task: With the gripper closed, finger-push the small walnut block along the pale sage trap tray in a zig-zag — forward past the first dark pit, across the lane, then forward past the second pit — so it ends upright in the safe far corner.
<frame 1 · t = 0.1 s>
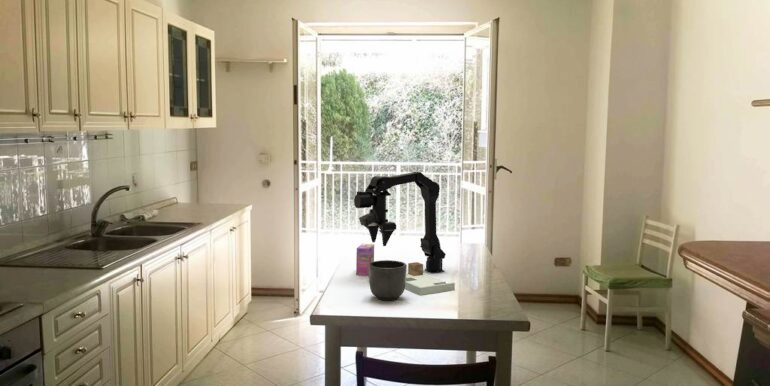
hand: (378, 244, 255), 15 cm above the table, fingers open, 9 cm apart
block: (415, 274, 256), point 2 cm above the table, touching trap tray
trap tray: (420, 285, 246), on the table
planter: (387, 299, 226), on the table
box: (365, 273, 267), on the table
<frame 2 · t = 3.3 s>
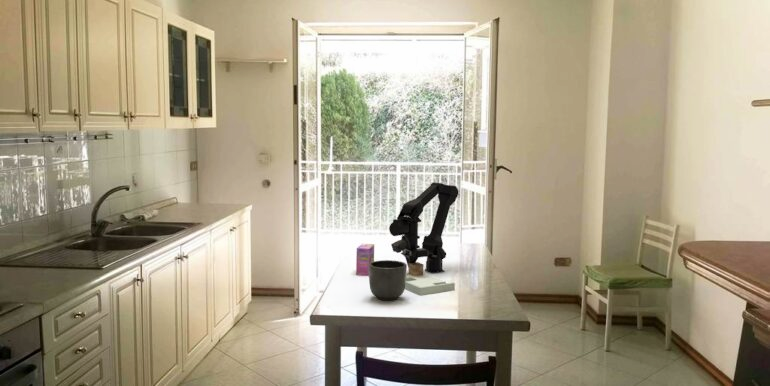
hand: (410, 269, 259), 3 cm above the table, fingers closed
block: (415, 274, 256), point 2 cm above the table, touching gripper
everything else where it was.
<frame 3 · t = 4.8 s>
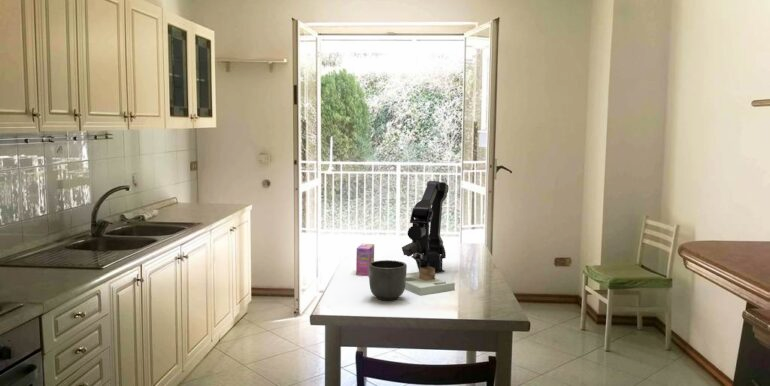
hand: (421, 273, 252), 3 cm above the table, fingers closed
block: (427, 278, 248), point 2 cm above the table, touching gripper, trap tray
everything else where it was.
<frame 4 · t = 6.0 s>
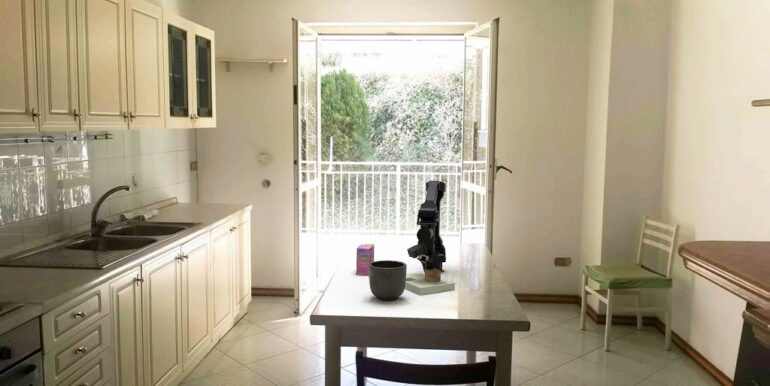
hand: (426, 276, 248), 3 cm above the table, fingers closed
block: (432, 281, 245), point 2 cm above the table, touching gripper, trap tray
everything else where it was.
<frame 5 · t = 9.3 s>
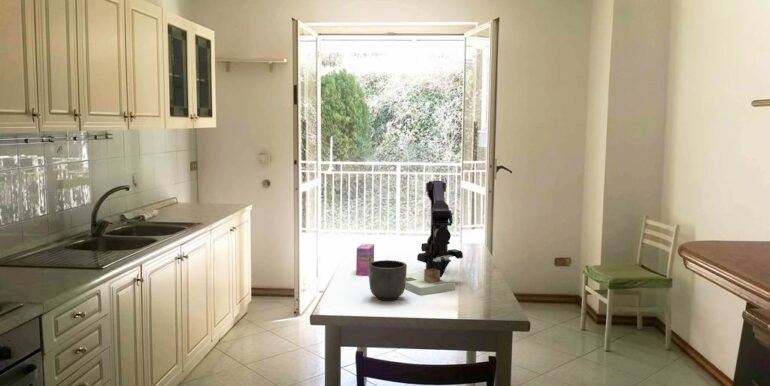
hand: (440, 276, 247), 3 cm above the table, fingers closed
block: (432, 281, 245), point 2 cm above the table, touching gripper
everything else where it was.
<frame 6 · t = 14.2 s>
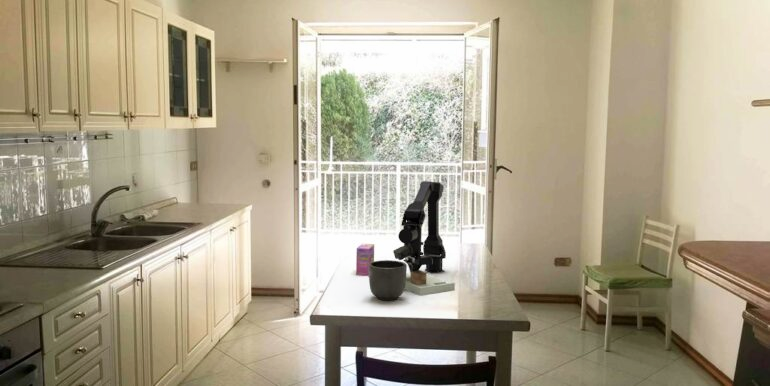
hand: (413, 278, 244), 3 cm above the table, fingers closed
block: (418, 283, 241), point 2 cm above the table, touching gripper, trap tray
everything else where it was.
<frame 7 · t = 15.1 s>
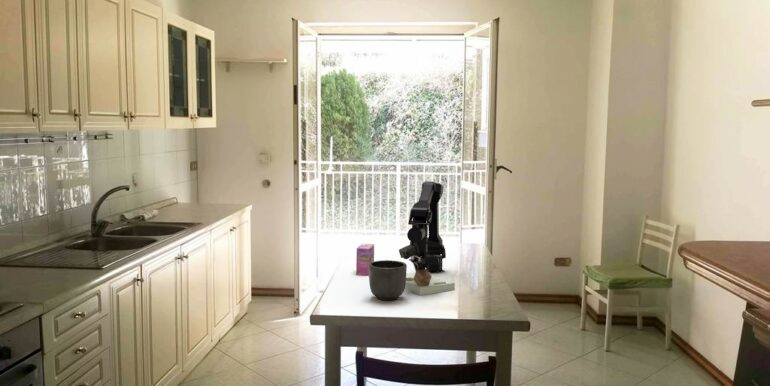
hand: (418, 277, 240), 4 cm above the table, fingers closed, pressing on block
block: (421, 282, 239), point 3 cm above the table, tilted 26°, touching gripper
everything else where it was.
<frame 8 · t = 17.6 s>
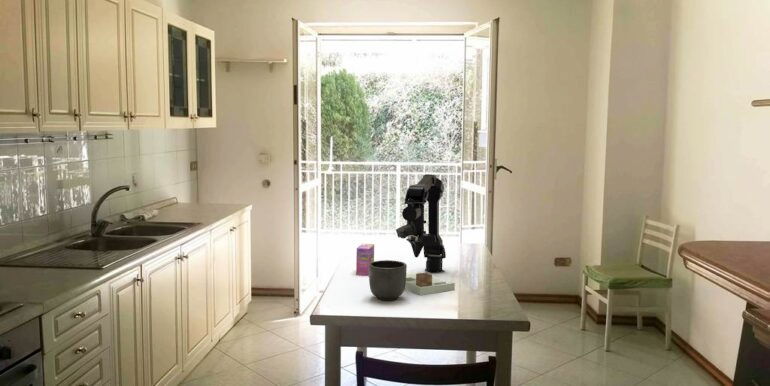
hand: (416, 257, 242), 12 cm above the table, fingers closed
block: (423, 285, 237), point 2 cm above the table, touching trap tray
everything else where it was.
at the end: block 0.6 cm from the target spot, point 2.0 cm above the table; block tilted 0° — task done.
